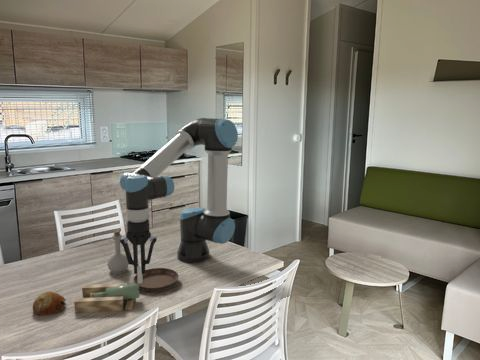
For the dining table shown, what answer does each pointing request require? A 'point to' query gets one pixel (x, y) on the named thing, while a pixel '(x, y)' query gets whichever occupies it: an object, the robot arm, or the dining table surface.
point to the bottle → (119, 292)
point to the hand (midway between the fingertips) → (140, 281)
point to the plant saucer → (157, 279)
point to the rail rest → (101, 300)
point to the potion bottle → (117, 257)
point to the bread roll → (48, 303)
